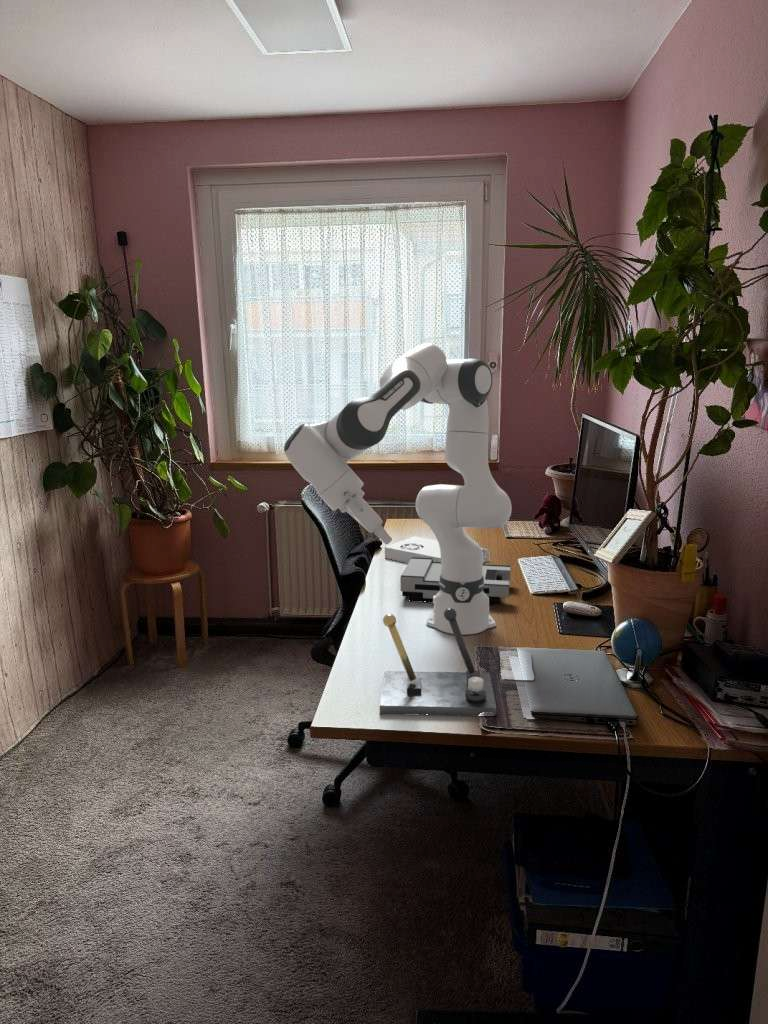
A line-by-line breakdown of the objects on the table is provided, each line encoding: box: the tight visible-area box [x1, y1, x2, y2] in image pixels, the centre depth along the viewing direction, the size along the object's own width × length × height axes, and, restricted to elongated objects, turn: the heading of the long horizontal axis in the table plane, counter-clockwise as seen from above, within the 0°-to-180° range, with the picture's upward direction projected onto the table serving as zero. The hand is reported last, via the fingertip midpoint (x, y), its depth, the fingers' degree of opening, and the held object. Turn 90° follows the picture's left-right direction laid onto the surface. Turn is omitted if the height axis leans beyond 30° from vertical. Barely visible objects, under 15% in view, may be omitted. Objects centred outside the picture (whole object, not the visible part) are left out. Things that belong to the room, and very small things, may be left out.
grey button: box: [468, 677, 484, 692], centre depth 145 cm, size 3×3×2 cm
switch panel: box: [379, 670, 497, 717], centre depth 150 cm, size 16×24×3 cm, turn 86°
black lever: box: [444, 608, 476, 674], centre depth 152 cm, size 3×3×16 cm
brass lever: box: [382, 613, 416, 681], centre depth 149 cm, size 3×3×16 cm
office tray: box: [400, 557, 512, 607], centre depth 215 cm, size 21×32×8 cm, turn 78°
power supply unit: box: [384, 535, 490, 564], centre depth 251 cm, size 19×33×5 cm, turn 53°
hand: (386, 539), depth 149 cm, fingers open, 8 cm apart
